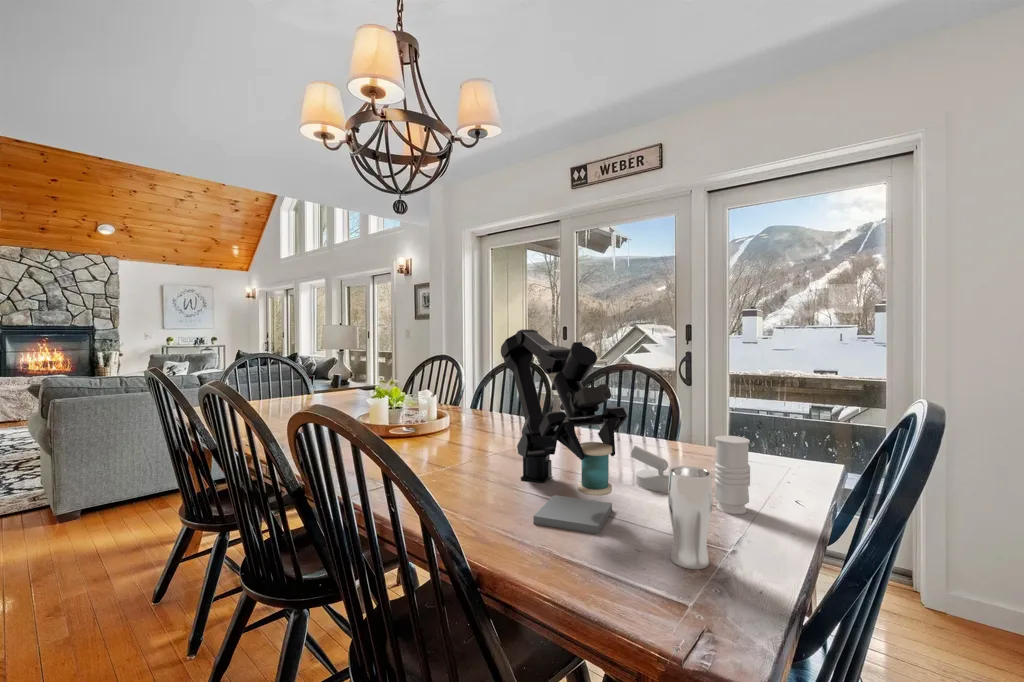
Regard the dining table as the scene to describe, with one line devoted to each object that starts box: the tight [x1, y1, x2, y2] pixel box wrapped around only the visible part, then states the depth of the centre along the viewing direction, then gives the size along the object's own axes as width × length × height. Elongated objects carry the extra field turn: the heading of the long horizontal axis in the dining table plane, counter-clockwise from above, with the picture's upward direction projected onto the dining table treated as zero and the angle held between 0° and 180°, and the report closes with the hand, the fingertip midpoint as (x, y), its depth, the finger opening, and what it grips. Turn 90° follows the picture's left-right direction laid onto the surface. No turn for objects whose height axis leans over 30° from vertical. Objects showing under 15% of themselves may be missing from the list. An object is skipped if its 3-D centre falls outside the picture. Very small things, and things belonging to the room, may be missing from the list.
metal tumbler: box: [667, 465, 714, 570], centre depth 81 cm, size 7×7×15 cm
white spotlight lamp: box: [630, 444, 669, 491], centre depth 121 cm, size 9×10×10 cm
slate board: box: [532, 494, 613, 535], centre depth 101 cm, size 13×13×2 cm
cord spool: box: [577, 441, 613, 497], centre depth 99 cm, size 7×7×9 cm
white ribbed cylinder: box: [713, 435, 751, 515], centre depth 104 cm, size 7×7×15 cm
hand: (598, 457), depth 98 cm, fingers closed on cord spool, 7 cm apart
